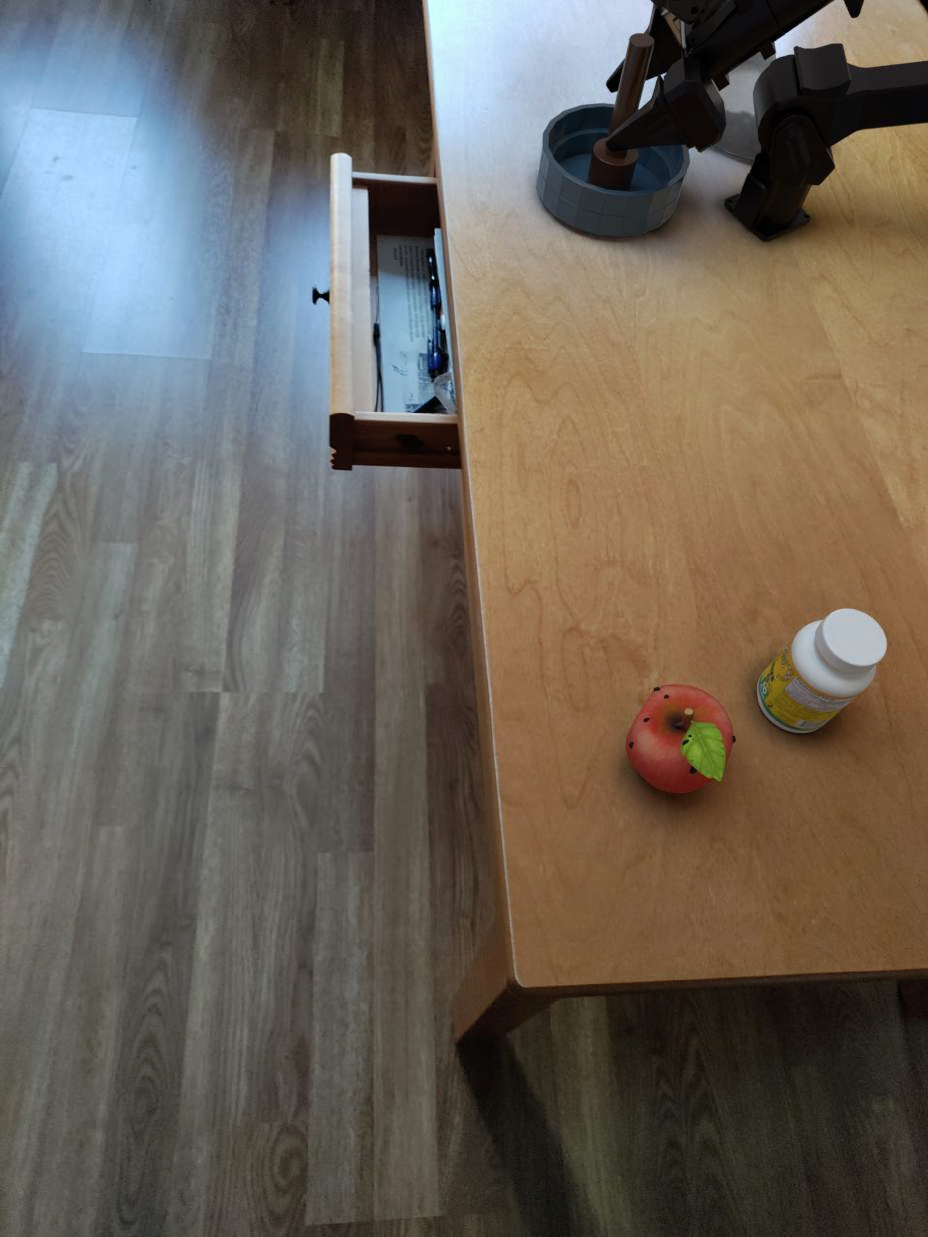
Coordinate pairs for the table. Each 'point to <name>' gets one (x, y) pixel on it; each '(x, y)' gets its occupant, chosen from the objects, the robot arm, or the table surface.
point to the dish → (742, 108)
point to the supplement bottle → (821, 670)
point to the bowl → (596, 206)
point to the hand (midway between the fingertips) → (607, 116)
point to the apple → (680, 739)
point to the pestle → (623, 119)
